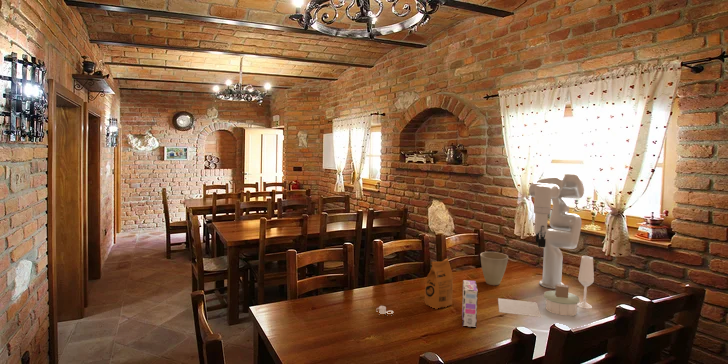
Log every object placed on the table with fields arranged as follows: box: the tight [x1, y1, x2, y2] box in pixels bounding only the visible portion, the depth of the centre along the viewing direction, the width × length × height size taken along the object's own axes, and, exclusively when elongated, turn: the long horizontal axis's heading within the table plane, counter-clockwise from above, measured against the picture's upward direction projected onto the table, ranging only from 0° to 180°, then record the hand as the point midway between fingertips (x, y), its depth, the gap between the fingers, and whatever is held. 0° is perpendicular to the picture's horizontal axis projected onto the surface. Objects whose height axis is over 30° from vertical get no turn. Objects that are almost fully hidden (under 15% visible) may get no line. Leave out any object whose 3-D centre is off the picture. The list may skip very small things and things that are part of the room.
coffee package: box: [424, 258, 454, 310], centre depth 204 cm, size 10×12×22 cm
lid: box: [543, 284, 581, 304], centre depth 198 cm, size 15×15×6 cm
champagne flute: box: [577, 255, 595, 309], centre depth 204 cm, size 7×7×24 cm
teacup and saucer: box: [375, 305, 394, 315], centre depth 192 cm, size 9×8×4 cm
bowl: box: [545, 298, 578, 317], centre depth 199 cm, size 13×13×6 cm
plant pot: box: [479, 251, 509, 286], centre depth 236 cm, size 15×15×16 cm
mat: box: [497, 297, 542, 318], centre depth 201 cm, size 18×18×1 cm
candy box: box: [461, 279, 479, 328], centre depth 185 cm, size 14×6×16 cm, turn 168°
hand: (540, 244), depth 209 cm, fingers open, 9 cm apart
